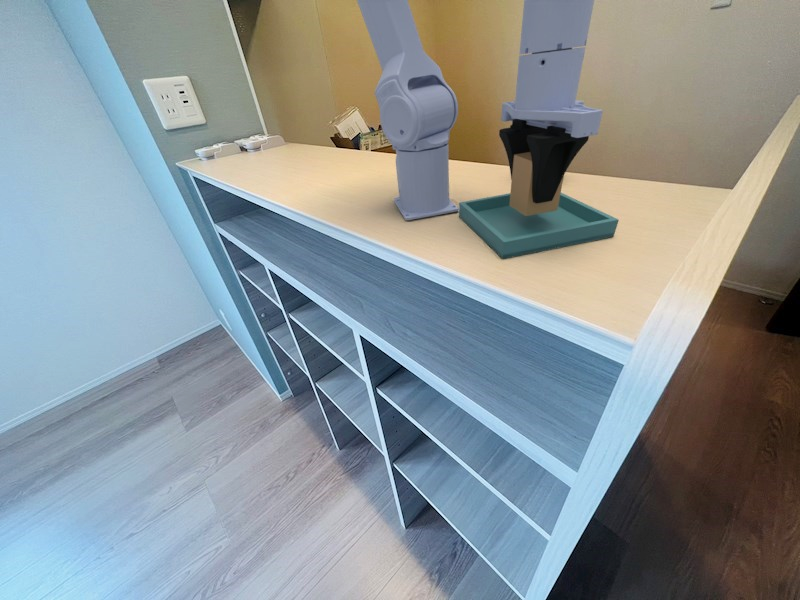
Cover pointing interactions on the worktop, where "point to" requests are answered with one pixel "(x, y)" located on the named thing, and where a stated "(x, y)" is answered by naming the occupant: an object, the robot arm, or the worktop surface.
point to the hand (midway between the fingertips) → (531, 195)
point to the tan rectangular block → (528, 188)
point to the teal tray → (534, 225)
